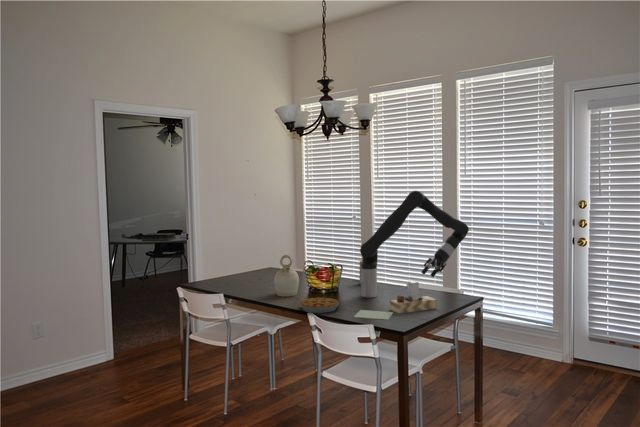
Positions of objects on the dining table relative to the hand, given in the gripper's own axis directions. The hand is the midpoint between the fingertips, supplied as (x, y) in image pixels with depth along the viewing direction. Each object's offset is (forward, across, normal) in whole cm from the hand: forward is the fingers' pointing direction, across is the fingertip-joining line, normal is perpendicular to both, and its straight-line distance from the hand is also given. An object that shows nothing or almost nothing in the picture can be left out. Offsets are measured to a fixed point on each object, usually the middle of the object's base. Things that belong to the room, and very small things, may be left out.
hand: (427, 274), depth 279 cm
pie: (+52, -24, -25) cm, 62 cm away
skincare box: (+13, -71, +13) cm, 73 cm away
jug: (+55, -65, -29) cm, 90 cm away
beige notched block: (+19, 0, +6) cm, 20 cm away
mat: (+37, +2, -12) cm, 39 cm away
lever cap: (+16, 0, +3) cm, 16 cm away
